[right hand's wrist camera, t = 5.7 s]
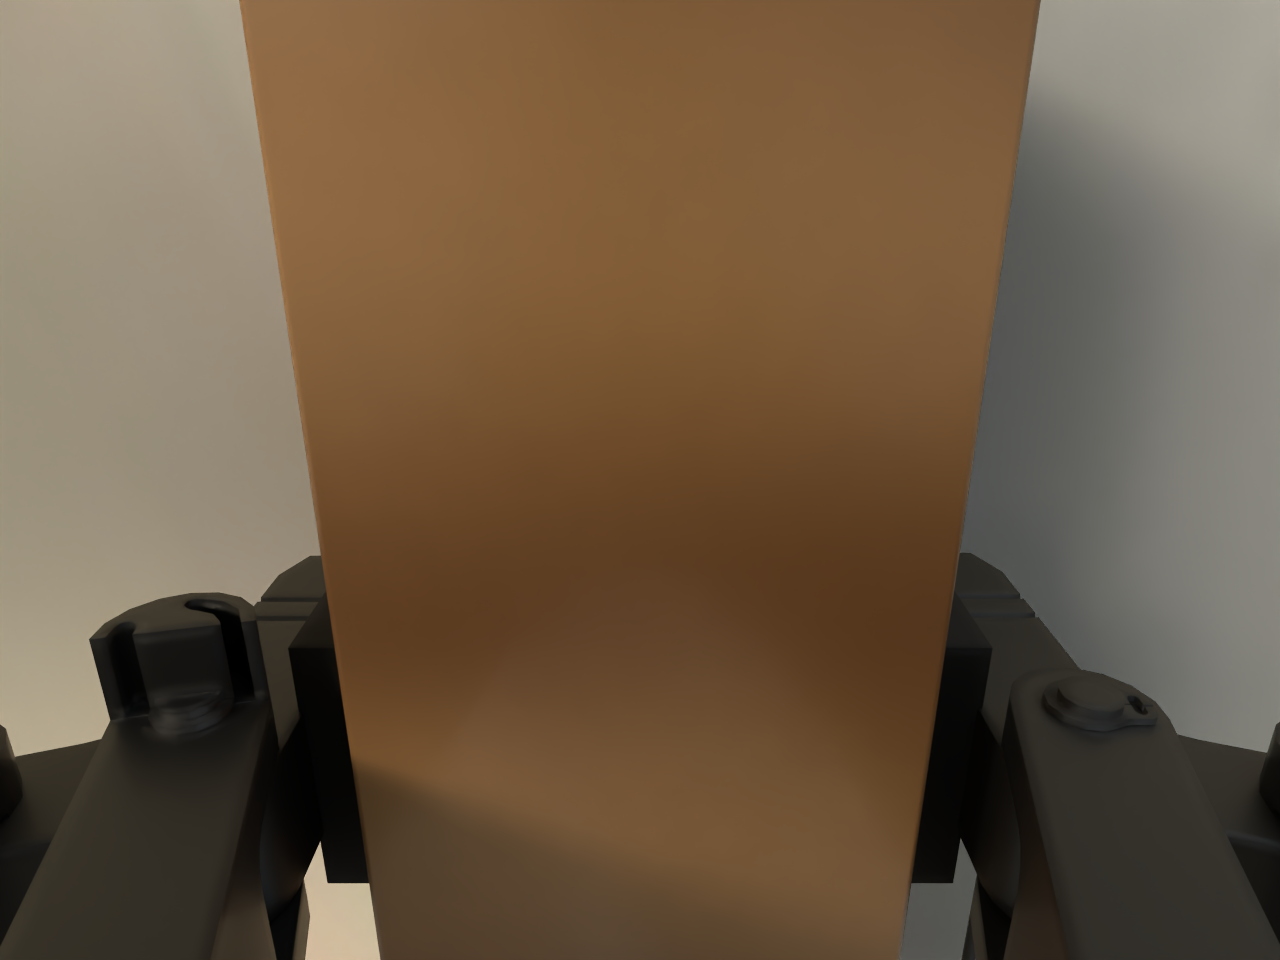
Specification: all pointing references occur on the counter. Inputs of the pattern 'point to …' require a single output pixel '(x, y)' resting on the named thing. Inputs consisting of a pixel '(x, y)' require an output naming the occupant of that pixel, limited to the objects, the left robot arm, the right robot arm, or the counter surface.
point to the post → (640, 445)
